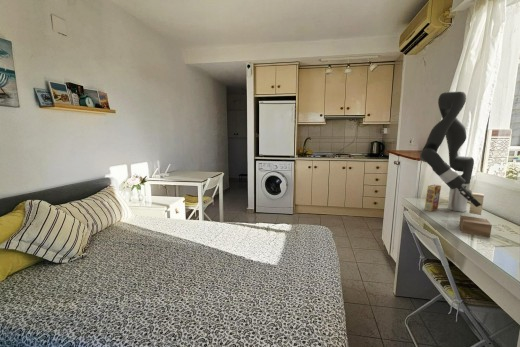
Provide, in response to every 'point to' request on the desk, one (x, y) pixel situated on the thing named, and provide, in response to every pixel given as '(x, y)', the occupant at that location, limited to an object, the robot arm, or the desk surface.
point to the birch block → (478, 209)
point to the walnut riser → (475, 226)
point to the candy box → (432, 197)
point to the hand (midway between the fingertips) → (478, 204)
